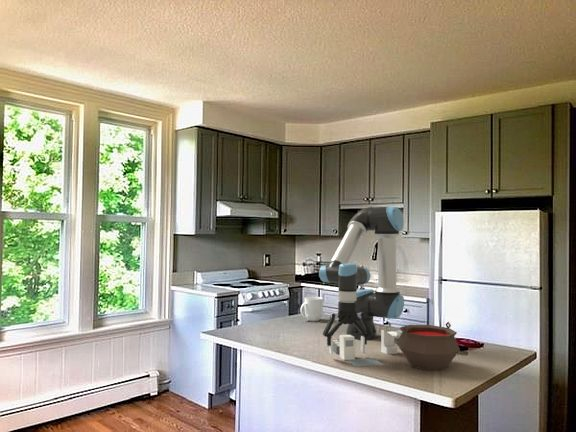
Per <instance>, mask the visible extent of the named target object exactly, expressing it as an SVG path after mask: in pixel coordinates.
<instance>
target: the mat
mask: <svg viewBox="0 0 576 432" xmlns="http://www.w3.org/2000/svg"><path fill="white" fill-rule="evenodd" d="M346 361H347V362H348V363H350V364H351V366H353V367H369V366H384V364H383V362H381V361H379V360H378V359H377V358H357V359H356V358H355V360H346Z"/></svg>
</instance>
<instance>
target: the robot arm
mask: <svg viewBox="0 0 576 432" xmlns="http://www.w3.org/2000/svg"><path fill="white" fill-rule="evenodd" d="M403 229H404V216H403V214H402V211H401V210H400V209H399V208H398V207H397V206H367V207H364V208H363V209H361V210H359V211H358V212H357V213H355V214H354V215H353V217H352V218H351V219H350V220H349V222H348V224H347V230H346V231H345V234H344V236H343V237H342V239H341V241H340V243H339V245H338V246H337V249H336V250H335V252H334V255H333V256H332V258H331V260H330V261H329V263H328V264H327V265H322V266H320V268H319V272H318V277H319V278H320V281H322V282H324V283H330V284H331V283H332V284H333V283H334V284H338V293H337V294H338V296H337V297H338V303H337V304H338V306H337V307H338V309H337V313H334V312H331V313H330V316H329V319H328V322H327V323H326V326H325V328H324V330H323V331H322V332H323V333H322V336H324V337H325V338H326V345H328V346H329V347H328V346H327V347H328V349H329V354H330V355H334V351H333V338H334V337H333V336H334V335H335V333H336V332H337V331H338V329H339V328H340V327H341V326H342V325H347V328H346V333H345V335H351V336H354V338H355V339H356V340H358V339H359V340H360V353H362V354H365V353H366V348H365V347H366V345H367V344H368V340H370V339H371V340H372V339H376V338H377V336H378V332H377V328H376V325H375V322H374V318H384V319H388V320H390V319H392V320H397V319H399V318H400V317H401V315H402V313H403V311H404V307H405V299H404V295H402V294H400V291H401V290H400V289H399V288H397V244H396V243H397V237H398V236H399V235H400V232H401V231H402V230H403ZM368 231H374V236H376V238H377V269H378V270H377V277H378V278H377V280H378V281H377V282H378V285H377V288H375V291H374V289H373V288H368V289H367V288H366V289H364V288H363V289H357V288H358V287H357V286H361V285H362V286H363V285H365V284H368V283H369V281H370V280H371V272H370V270H369V269H368V268H367V267H365V266H364V267H363V266H357V264H355V263H349V262H350V260H351V258H352V256H353V254H354V252H355V250H356V248H357V246H358V245H359V243H360V241H361V239H362V237H364V235H366V233H367V232H368ZM336 318H338V320H337V321H336V323H335V320H336ZM333 323H335V324H333ZM332 325H333V326H332Z"/></svg>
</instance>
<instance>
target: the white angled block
mask: <svg viewBox="0 0 576 432" xmlns="http://www.w3.org/2000/svg"><path fill="white" fill-rule="evenodd" d="M380 331H381V333H380V335H381V336H380V337H381V339H380V344H381V345H380V346H381V348H380V351H381V353H383V354H385V355H394V354H398V345H397V344H395V336H394V335H392V334H391V333H389V332H388V331H386V330H384V329H381V330H380Z"/></svg>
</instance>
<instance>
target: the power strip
mask: <svg viewBox="0 0 576 432" xmlns="http://www.w3.org/2000/svg"><path fill="white" fill-rule="evenodd" d="M332 338H333V353H335V354H336V355H338V354H339V355H340V338H336V337H332ZM326 345H327V344H326ZM327 347H328V348H329V346H328V345H327Z"/></svg>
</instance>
